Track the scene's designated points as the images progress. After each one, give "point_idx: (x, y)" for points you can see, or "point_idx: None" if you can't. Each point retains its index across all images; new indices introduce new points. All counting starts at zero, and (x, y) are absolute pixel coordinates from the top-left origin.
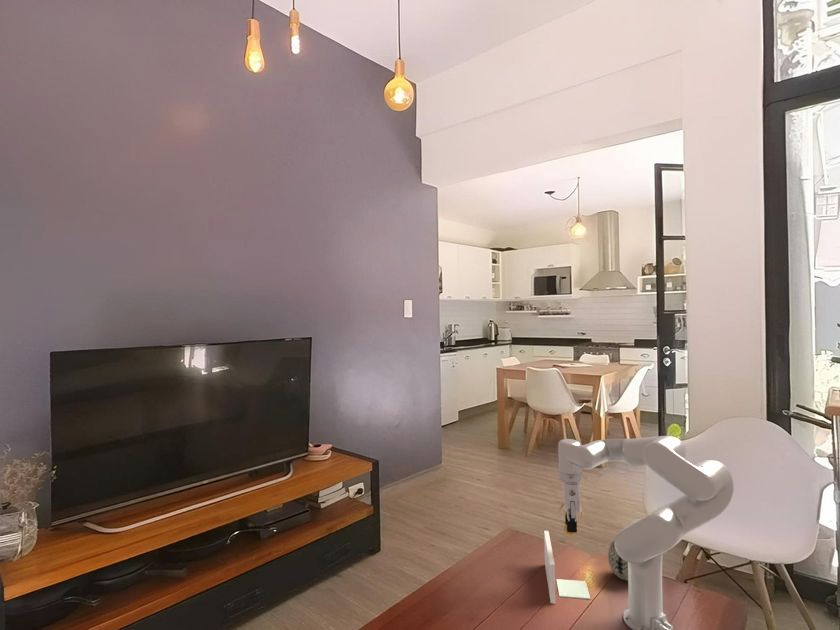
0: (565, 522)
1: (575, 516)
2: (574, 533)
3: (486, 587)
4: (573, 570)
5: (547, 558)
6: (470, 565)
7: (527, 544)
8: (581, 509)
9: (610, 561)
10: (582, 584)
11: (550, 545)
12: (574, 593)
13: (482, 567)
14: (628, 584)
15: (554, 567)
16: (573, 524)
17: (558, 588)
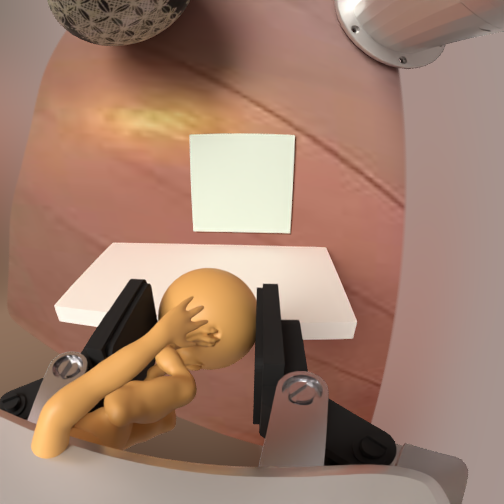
0: (151, 363)
1: (378, 454)
2: (243, 282)
3: None
4: (124, 168)
5: None
6: None
7: (38, 288)
8: (88, 386)
9: (141, 35)
10: (212, 148)
11: None
12: (272, 183)
13: None
14: (456, 33)
15: (353, 315)
16: (303, 368)
17: (249, 231)
